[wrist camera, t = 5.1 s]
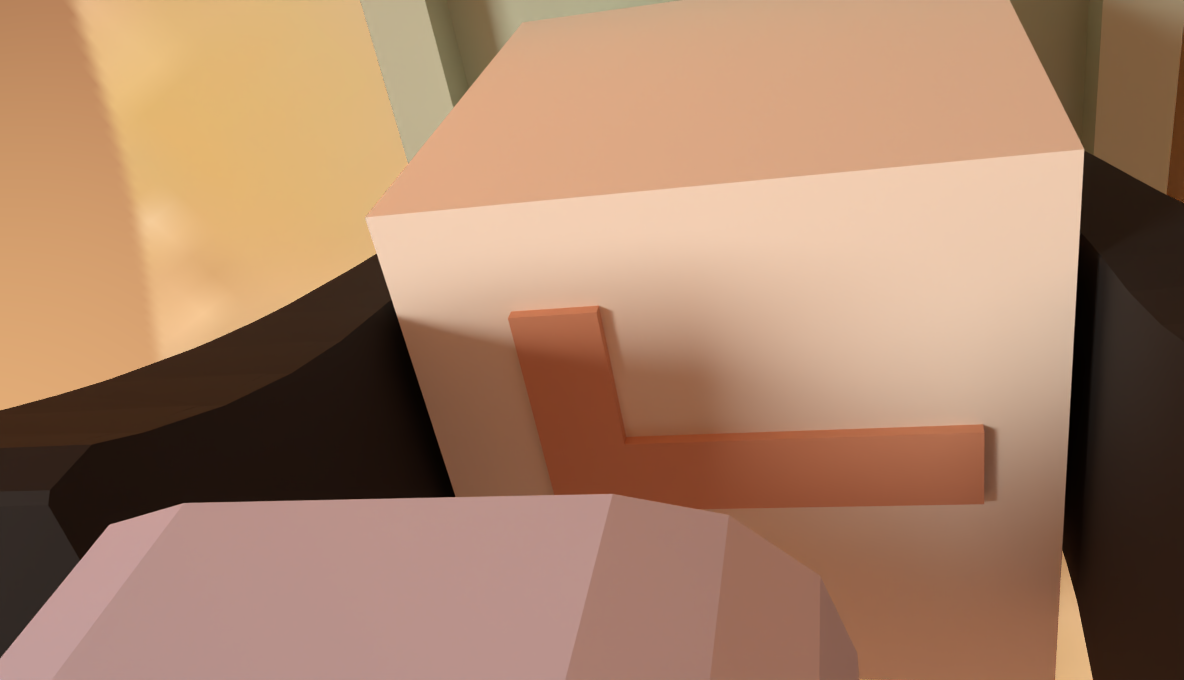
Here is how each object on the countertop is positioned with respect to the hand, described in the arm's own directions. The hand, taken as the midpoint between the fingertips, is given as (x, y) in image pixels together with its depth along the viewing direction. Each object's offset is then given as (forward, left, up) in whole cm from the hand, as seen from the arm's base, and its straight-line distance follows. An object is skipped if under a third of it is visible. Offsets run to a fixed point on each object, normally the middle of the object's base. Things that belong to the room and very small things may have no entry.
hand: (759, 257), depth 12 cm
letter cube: (0, 0, -1) cm, 1 cm away
